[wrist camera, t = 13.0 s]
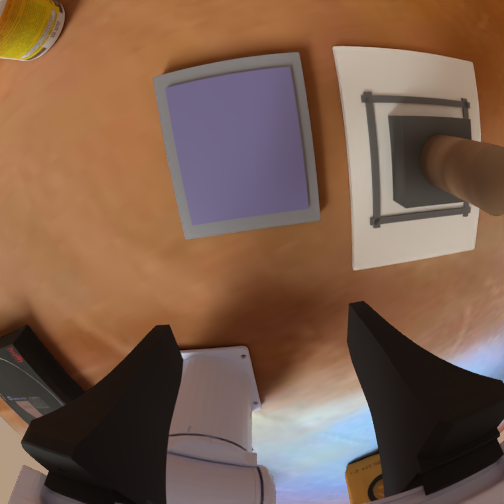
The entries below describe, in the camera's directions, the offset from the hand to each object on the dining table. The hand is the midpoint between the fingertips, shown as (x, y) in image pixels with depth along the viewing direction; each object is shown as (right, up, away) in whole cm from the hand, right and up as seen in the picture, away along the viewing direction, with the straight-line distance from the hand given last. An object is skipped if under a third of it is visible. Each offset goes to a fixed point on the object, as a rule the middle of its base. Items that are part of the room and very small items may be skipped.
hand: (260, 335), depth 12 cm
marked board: (+12, +10, +7) cm, 17 cm away
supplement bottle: (-17, +21, +2) cm, 27 cm away
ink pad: (-1, +10, +7) cm, 12 cm away
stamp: (+12, +10, +6) cm, 17 cm away
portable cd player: (-29, -15, +19) cm, 38 cm away
